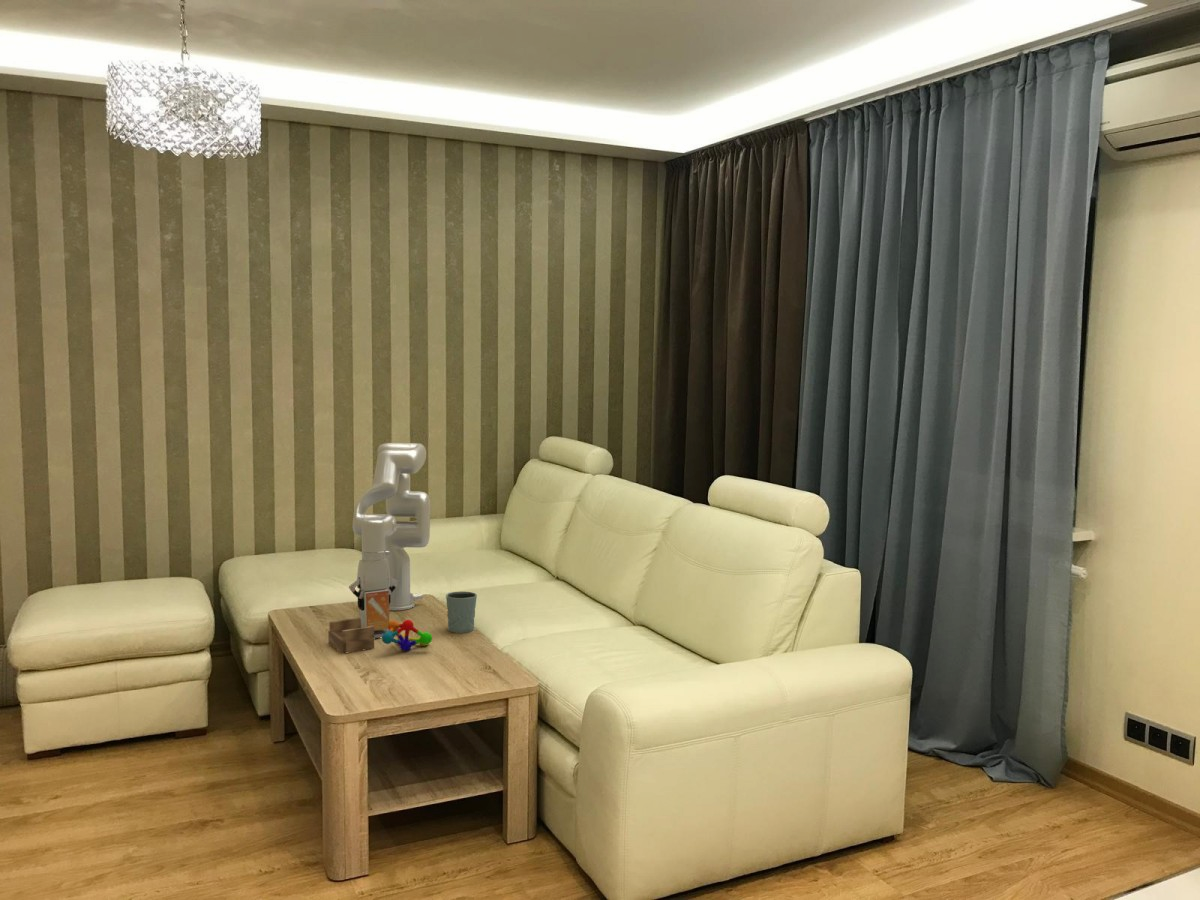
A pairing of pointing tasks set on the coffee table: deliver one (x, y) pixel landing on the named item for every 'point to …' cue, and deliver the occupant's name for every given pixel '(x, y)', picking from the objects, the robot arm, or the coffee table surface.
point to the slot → (350, 635)
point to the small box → (375, 609)
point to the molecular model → (405, 635)
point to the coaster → (380, 633)
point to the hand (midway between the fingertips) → (374, 607)
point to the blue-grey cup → (461, 611)
